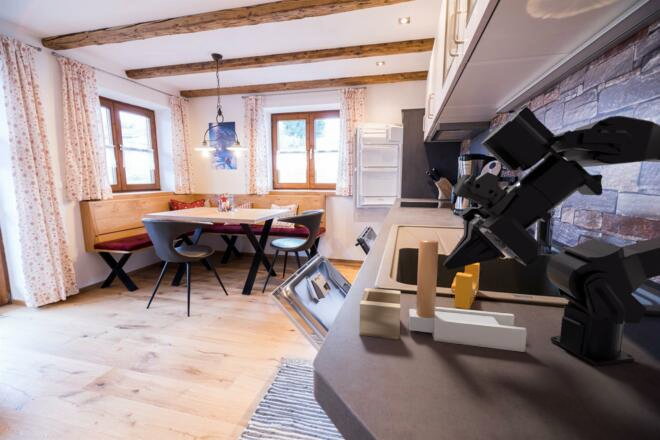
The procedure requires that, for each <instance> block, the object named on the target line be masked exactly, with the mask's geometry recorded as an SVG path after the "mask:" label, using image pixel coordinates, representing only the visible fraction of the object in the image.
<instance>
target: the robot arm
mask: <svg viewBox="0 0 660 440" xmlns="http://www.w3.org/2000/svg"><path fill="white" fill-rule="evenodd" d="M480 145H481V146H483V147H484V149H486V150H487V151H488V152H489V153H490V154H491V155H492V156H493V157H494V158H495V159H496V160H497V161H498V162H499V163H500V164H501V165H502V166H503V167H504V168H505V169H506V170H507V171H508V172H513V171H515V170H517V169H518V170H519V171H520V172H521V173H522V172H525V171H528V170H529V169H531V168H532V167H533V168H532V169H531V170H530V171H529V172H527V173H526V174H525V175H524V176H523V177H521V178H520V179H519V180H518V181H516V182H515V183H513V185H504V186H502V187H501V186H499V175H496V174H494V173H493V172H492V173H491V172H489V171H486V172H483V173H481V174H480V175H478V176H476V175H474V174H469V173H465V174H462V175H461V177H460V178H459V180H458V182H457V184H456V185H455V187H454V189H453V191H452V193H451V195H454V196H456V197H458V198H464V199H466V200H468V201H470V202H472V203H474V204H476V205H478V206H477V207H476V206H474V207H471V206H466V207H465V208H464V209H463V210H461V212H459V214H458V215H459V216H460V218H461V219H463V221H462V224H463V235H462V237H461V238H460V240H459V241H458V242H457V244H456V245H455V247H454V248H453V249H452V251H451V252H450V254H449V255H448V257H447V258H446V259H445V261H444V262H443V266H444V267H445V268H446V269H447V270H448V271H451V270H455V269H458V268H462V267H465V266H467V265H471V264H475V263H482V262H487V261H491V260H496V259H505V258H506V255H505V254H504V253H503V252H504V251H506V250H507V249H508V250H509V251H511V252H512V253H513V255H514V259H515V260H516V261H517V262H519V263H520V264H522V265H524V266H525V267H528V266H529V265H531V264H532V263H533V262H535V261H536V260H538V258H540V257H541V256H542V255H541V254H542V244H541V243H540V242H539V241H538V240H537V239H536V238H535V237H534V236H533V235H532V234H531V233H529V231H528V230H529V229H530V228H531V227H533V226H534V225H535V224H536V223H538V222H539V221H541V222H544V223H547V221H549V220H550V219H551V218H553V216H552V215H551V214H550V212H551V211H553V210H554V209H555V208H557V207H558V206H560V205H561V204H562V203H563V202H565V201H566V200H567V199H568V198H570V197H571V196H573V195H574V194H575V193H576V192H578V193H579V194H580V195H582V196H601V195H602V194H603V185H602V179H603V177H604V176H603V174H601V173H600V174H590V173H589V172H588V171H587V170H586V169H585V168H589V167H590V168H592V167H601V166H611V165H613V166H614V165H622V164H631V163H632V164H633V163H643V162H647V163H649V162H651V163H660V124H658V123H656V122H654V121H652V120H646V119H641V118H636V117H630V116H626V115H625V116H624V115H613V116H608V117H606V118H602V119H600V120H596V121H594V122H591V123H588V124H585V125H582V126H579V127H576V128H575V129H574V130H569V129H568V130H565V131H562V132H559V133H557V134H555V133H553V132H552V131H551V130H550V129H549V128H548V127H547V126H546V125H544V124H543V123H542V121H541V120H539V119H538V118H537V116H536V115H535V113H534V111H532V110H531V109H530V108H529V107H528V106H526V107H522V109H520V110H519V111H518V112H517V113H515V114H514V115H513V116H512V117H510V118H509V119H508V120H507V121H505V122H504V123H503V124H502V125H500V126H497V128H495V129H494V130H493V131H492V132H491V133H490V134H488V136H487V137H486V138H485V139H484V140H482V142H481V143H480ZM535 165H536V166H535ZM546 267H547V268H546V275H547V277H548V280H549V281H550V282H551V283H552V284H553V285H554V286H555V287H556V289H557V293H558V295H559V296H560V297H562V298H564V299H566V300H567V303H566V304H564V305H563V306H564V307H563V316H561V325H560V335H554V336H550V341H552V343H555V344H557V345H558V346H560V347H562V348H563V349H566V350H567V351H569V352H571V353H572V354H574V355H576V356H578V357H579V358H581V359H583V360H585V361H586V362H588V363H590V364H592V365H595V366H605V365H612V364H619V363H620V364H621V363H626V362H627V363H629V362H634V361H635V356H634V355H633V354H630V353H628V352H626V351H624V350H622V344H623V337H624V329H625V324H627V323H628V324H639V323H640V321H641V320H642V318H643V317H644V315H645V313H646V312H647V307H646V306H645V305H643V303H642V302H641V301H640V300H638V299H637V297H635V296H634V295H633V294H634V293H635V292H636V291H637V290H638V289H639V288H640V287H641V286H642V285H643V284H644V283H645V282H646V281H648V280H651V279H655V278H657V277H660V235H659V236H657V237H656V236H655V237H652V238H649V239H645V240H641V241H639V242H635V243H631V244H628V245H625V246H624V245H623V246H618V245H615V244H612V243H608V242H604V241H601V240H598V239H597V240H596V239H590V240H586V241H583V242H582V243H580V244H577V245H574V246H562V247H561V251H560V252H559V253H556V254H554V255H552V257H550V260H549V262H548V264H547V266H546Z"/></svg>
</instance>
